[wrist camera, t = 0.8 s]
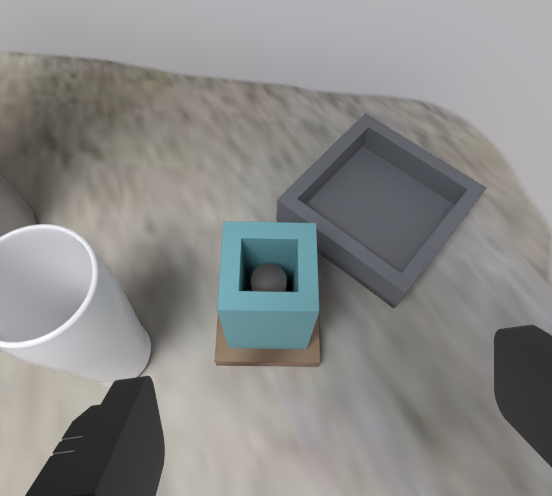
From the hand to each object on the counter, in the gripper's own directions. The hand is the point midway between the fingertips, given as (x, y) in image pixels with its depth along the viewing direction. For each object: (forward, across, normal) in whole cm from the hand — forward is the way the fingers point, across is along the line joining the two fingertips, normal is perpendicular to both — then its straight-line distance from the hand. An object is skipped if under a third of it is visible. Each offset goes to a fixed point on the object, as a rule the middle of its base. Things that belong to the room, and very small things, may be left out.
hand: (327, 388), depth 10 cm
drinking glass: (+24, +13, +9) cm, 29 cm away
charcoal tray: (+31, -10, +2) cm, 33 cm away
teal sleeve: (+24, +1, +7) cm, 25 cm away
